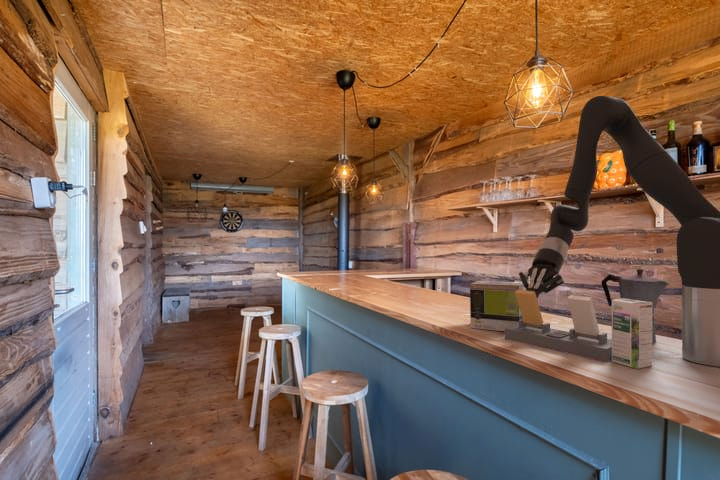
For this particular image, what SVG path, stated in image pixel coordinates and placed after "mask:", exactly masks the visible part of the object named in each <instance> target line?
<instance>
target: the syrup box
mask: <svg viewBox="0 0 720 480" xmlns="http://www.w3.org/2000/svg"><path fill="white" fill-rule="evenodd" d="M611 300H612V306H611V340H612V360H611V362H612V363H616V364H620V365H623V366H625V367H628V368H632V369H635V370H639V369H643V368H647V367H653V344H652V302H645V301H638V300H631V299H620V298H615V299H611Z"/></svg>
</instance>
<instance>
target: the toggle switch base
mask: <svg viewBox="0 0 720 480" xmlns="http://www.w3.org/2000/svg"><path fill="white" fill-rule="evenodd" d="M504 340H509V341H513V342H517V343H518V342H519V343H522V344H526V345H530V346H535V347H540V348H544V349H548V350H553V351H556V352H557V351H558V352H561V353H566V354H570V355H574V356H579V357H583V358H588V359H592V360H596V361H601V362H605V363H607V362H610V361H612V338H611V339H610V338H608V333H606V332H602V333H599V340H595V339H590V338H585V337H579V336H576V332H575V328H574V327H572V328H570V329H569V331H568V330H567V331H566V330H561V329H557V328H556V329H554V328H551V323H549V322H546V323H543V324H542V329H537V328H532V327H527V326H524V322H523V319H522V320H519V325H516V326H512V327H508V328H505V331H504Z"/></svg>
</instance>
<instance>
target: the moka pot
mask: <svg viewBox="0 0 720 480" xmlns="http://www.w3.org/2000/svg"><path fill="white" fill-rule="evenodd" d="M643 274H644V269H641V268H638V269H636V274H635V275H627V276H622V275H614V274H610V273H609V274H608V275H607V276H606V277H603V279H602V280H601V287H602V289H603V292H604V295H605V298H606V301H607V305H608V306H609V307H612V300H613V299H612V298H611V294H610V290H609V287H608V284H607V283H608V281H611V282H614V283H618V287H619V297H620V298H619V299H631V300H638V301H645V302H652V345H653V344H656V342H657V337H656V326H655V325H656V324H655V317H654V313H655V308H657V304H658V300H659V298H660V296H661V295H662V294H663V292H664V290H665V289H666V288H667V286H669V285H670V283H669V282H668V281H666V280H663V279H657V278H653V277H650V276H646V275H643Z"/></svg>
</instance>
